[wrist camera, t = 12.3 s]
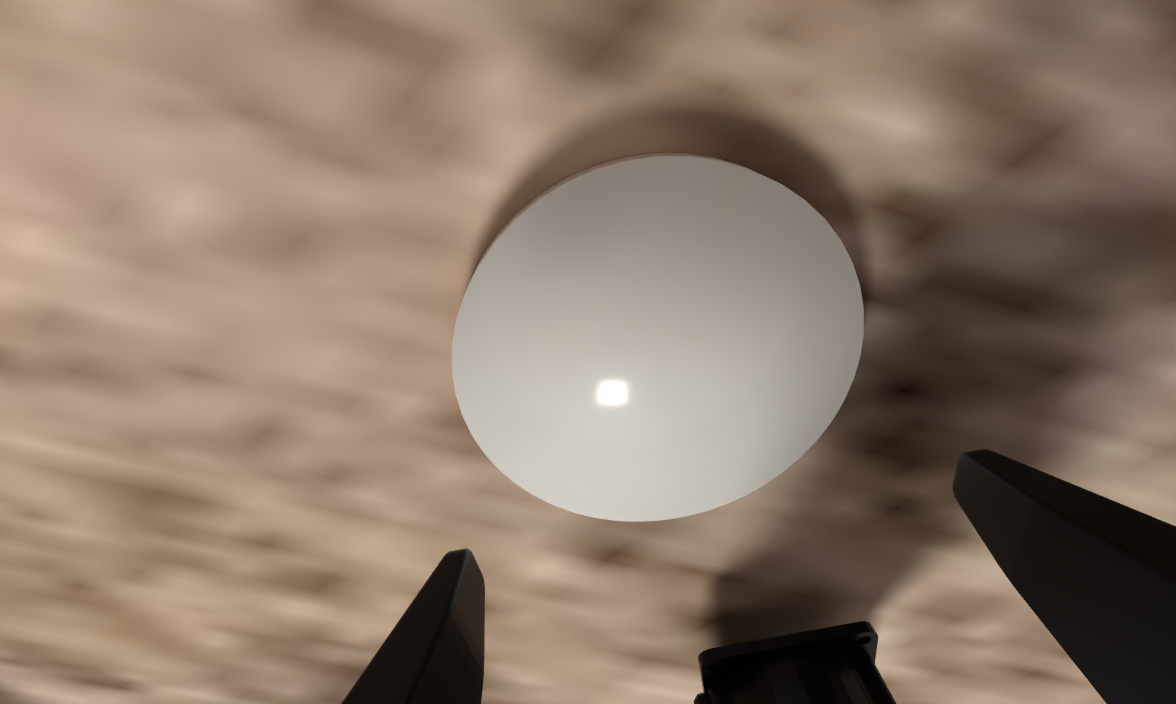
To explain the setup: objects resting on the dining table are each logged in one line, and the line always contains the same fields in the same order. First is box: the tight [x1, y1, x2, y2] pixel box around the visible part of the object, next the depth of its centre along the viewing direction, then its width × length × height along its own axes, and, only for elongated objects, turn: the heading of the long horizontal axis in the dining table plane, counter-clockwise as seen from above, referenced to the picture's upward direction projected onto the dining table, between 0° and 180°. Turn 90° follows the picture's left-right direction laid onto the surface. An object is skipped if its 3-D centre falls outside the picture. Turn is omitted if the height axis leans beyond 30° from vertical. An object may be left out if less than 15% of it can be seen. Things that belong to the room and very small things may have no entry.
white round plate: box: [452, 153, 864, 522], centre depth 14 cm, size 11×11×1 cm
